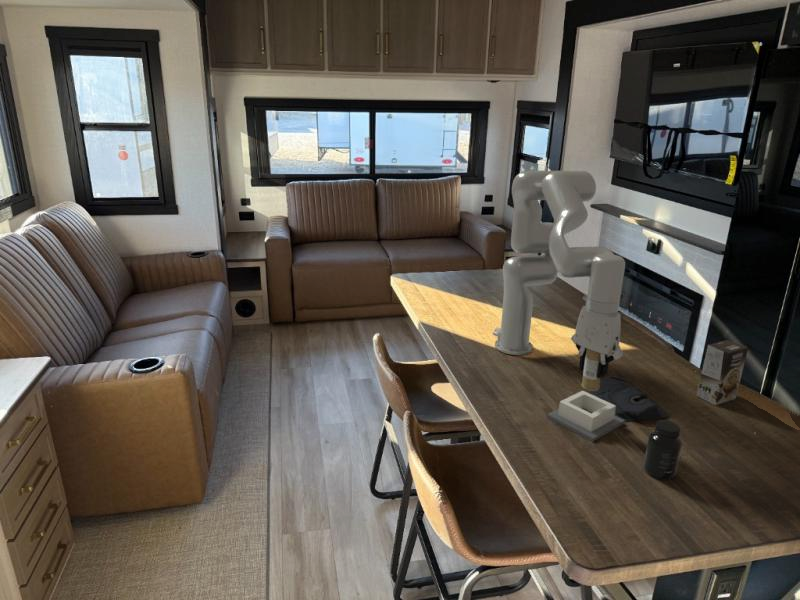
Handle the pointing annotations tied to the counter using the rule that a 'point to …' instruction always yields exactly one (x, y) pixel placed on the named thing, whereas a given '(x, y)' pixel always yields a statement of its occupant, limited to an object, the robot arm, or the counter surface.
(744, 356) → the coffee box
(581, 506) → the counter surface
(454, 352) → the counter surface
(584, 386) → the sprinkles bottle
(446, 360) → the counter surface
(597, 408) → the bottle holder
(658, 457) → the supplement bottle
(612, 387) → the dark slate chunk
